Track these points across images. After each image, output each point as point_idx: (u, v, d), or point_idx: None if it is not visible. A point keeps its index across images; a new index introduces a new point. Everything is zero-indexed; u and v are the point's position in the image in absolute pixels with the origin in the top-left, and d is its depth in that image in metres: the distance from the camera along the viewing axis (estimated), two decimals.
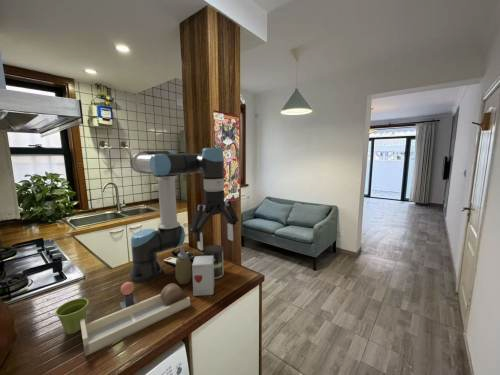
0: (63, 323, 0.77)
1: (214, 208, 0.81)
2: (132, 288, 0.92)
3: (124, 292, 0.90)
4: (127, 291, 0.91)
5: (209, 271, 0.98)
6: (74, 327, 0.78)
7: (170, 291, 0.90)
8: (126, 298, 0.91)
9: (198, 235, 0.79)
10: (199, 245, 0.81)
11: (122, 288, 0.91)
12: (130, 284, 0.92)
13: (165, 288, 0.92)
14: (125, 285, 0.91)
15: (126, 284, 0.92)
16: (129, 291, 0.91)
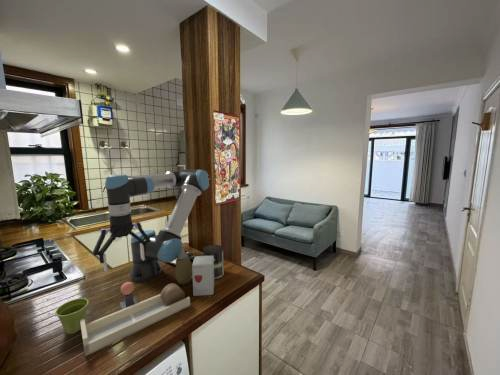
0: (63, 323, 0.77)
1: (119, 231, 0.87)
2: (132, 288, 0.92)
3: (124, 292, 0.90)
4: (127, 291, 0.91)
5: (209, 271, 0.98)
6: (74, 327, 0.78)
7: (170, 291, 0.90)
8: (126, 298, 0.91)
9: (101, 257, 0.85)
10: (104, 266, 0.86)
11: (122, 288, 0.91)
12: (130, 284, 0.92)
13: (165, 288, 0.92)
14: (125, 285, 0.91)
15: (126, 284, 0.92)
16: (129, 291, 0.91)
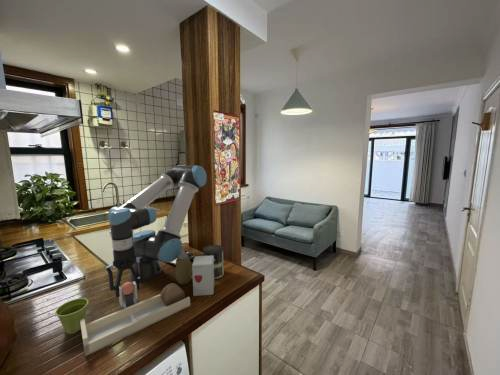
0: (63, 323, 0.77)
1: (122, 265, 0.89)
2: (132, 288, 0.92)
3: (124, 292, 0.90)
4: (127, 291, 0.91)
5: (209, 271, 0.98)
6: (74, 327, 0.78)
7: (170, 291, 0.90)
8: (126, 298, 0.91)
9: (117, 292, 0.90)
10: (119, 300, 0.91)
11: (122, 288, 0.91)
12: (130, 284, 0.92)
13: (165, 288, 0.92)
14: (125, 285, 0.91)
15: (126, 284, 0.92)
16: (129, 291, 0.91)
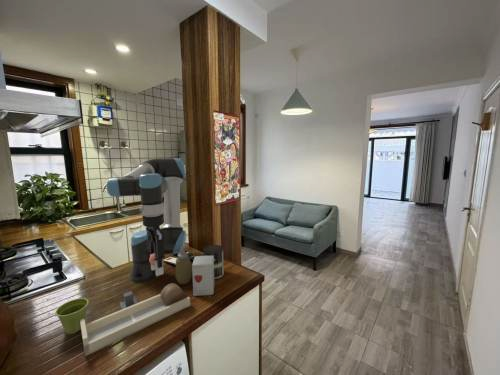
0: (63, 323, 0.77)
1: (147, 231, 0.85)
2: (152, 261, 0.85)
3: None
4: (149, 260, 0.86)
5: (209, 271, 0.98)
6: (74, 327, 0.78)
7: (170, 291, 0.90)
8: (126, 298, 0.91)
9: None
10: None
11: None
12: (153, 256, 0.85)
13: (165, 288, 0.92)
14: (152, 254, 0.87)
15: (153, 253, 0.86)
16: None
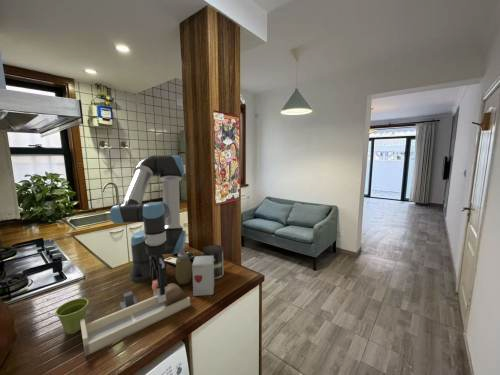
0: (63, 323, 0.77)
1: (150, 258, 0.87)
2: (154, 288, 0.86)
3: None
4: None
5: (209, 271, 0.98)
6: (74, 327, 0.78)
7: (170, 291, 0.90)
8: (126, 298, 0.91)
9: None
10: None
11: None
12: (156, 283, 0.87)
13: (165, 288, 0.92)
14: (155, 281, 0.88)
15: (155, 280, 0.88)
16: (152, 289, 0.87)
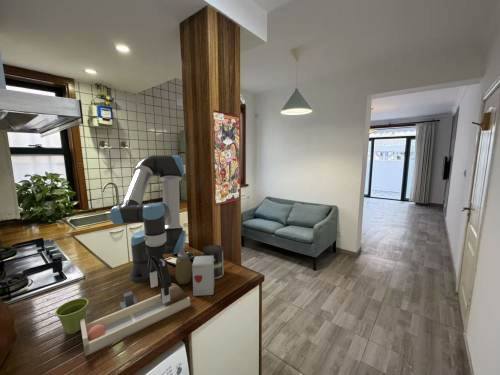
0: (63, 323, 0.77)
1: (151, 259, 0.87)
2: None
3: None
4: None
5: (209, 271, 0.98)
6: (74, 327, 0.78)
7: (170, 291, 0.90)
8: (126, 298, 0.91)
9: None
10: None
11: None
12: None
13: None
14: None
15: None
16: None
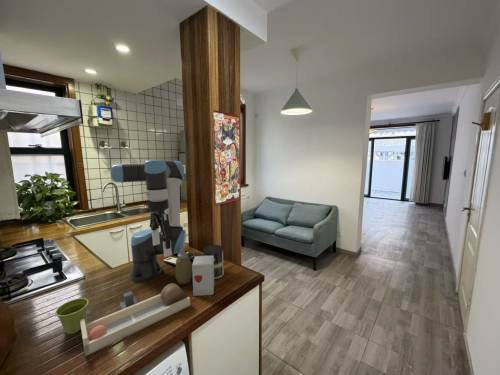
0: (63, 323, 0.77)
1: (153, 215, 0.88)
2: None
3: None
4: None
5: (209, 271, 0.98)
6: (74, 327, 0.78)
7: (170, 291, 0.90)
8: (126, 298, 0.91)
9: None
10: None
11: None
12: None
13: (165, 288, 0.92)
14: None
15: None
16: None
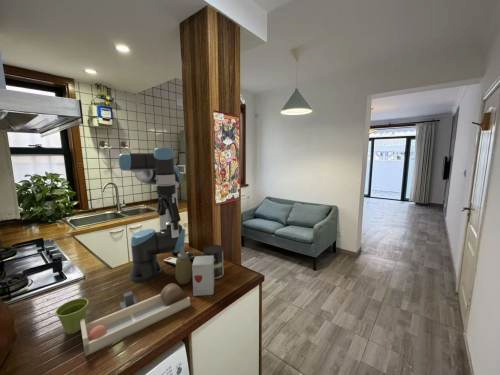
0: (63, 323, 0.77)
1: (161, 200, 0.95)
2: None
3: None
4: None
5: (209, 271, 0.98)
6: (74, 327, 0.78)
7: (170, 291, 0.90)
8: (126, 298, 0.91)
9: None
10: None
11: None
12: None
13: (165, 288, 0.92)
14: None
15: None
16: None
